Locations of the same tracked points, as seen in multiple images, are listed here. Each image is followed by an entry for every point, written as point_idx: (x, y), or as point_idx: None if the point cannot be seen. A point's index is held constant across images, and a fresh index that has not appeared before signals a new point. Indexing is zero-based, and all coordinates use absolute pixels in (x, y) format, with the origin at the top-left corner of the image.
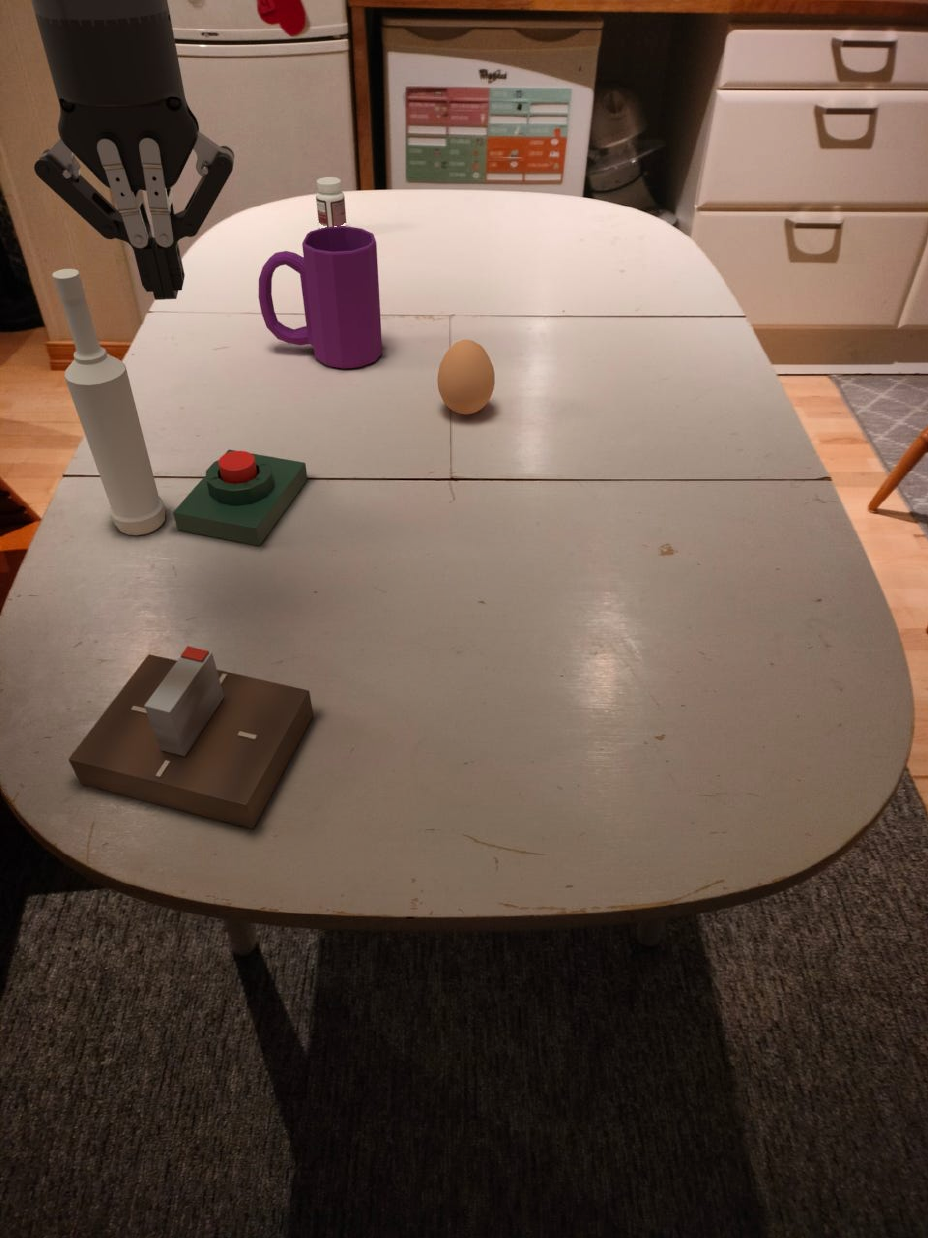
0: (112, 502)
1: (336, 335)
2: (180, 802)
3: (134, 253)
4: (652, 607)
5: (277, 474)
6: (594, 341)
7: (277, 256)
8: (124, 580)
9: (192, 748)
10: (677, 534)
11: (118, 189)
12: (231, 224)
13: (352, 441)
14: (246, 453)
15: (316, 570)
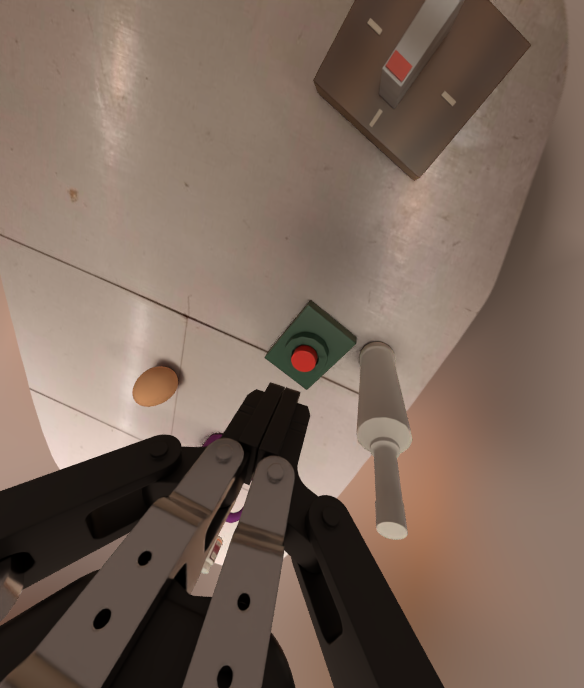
0: (393, 361)
1: None
2: None
3: (298, 459)
4: (85, 137)
5: (283, 353)
6: (99, 400)
7: (230, 519)
8: (404, 300)
9: None
10: (66, 209)
11: (245, 627)
12: None
13: (236, 374)
14: (295, 365)
15: (281, 260)
